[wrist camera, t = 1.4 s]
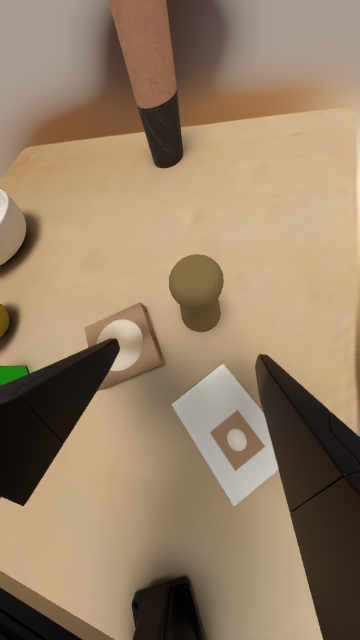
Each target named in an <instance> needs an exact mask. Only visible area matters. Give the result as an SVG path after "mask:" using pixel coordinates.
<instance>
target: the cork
mask: <svg viewBox="0 0 360 640" xmlns="http://www.w3.org/2000/svg"><path fill="white" fill-rule="evenodd" d="M223 283H224V280H223V273H222V270H221V268H220V267H219V265H218V264H217V263H216V262H215V261H214V260H213V259H211V258H209V257H207V256H205V255H198V254H196V255H190V256H187V257H185V258H183V259H181V260H180V261H179V262H177V264H176V265H175V266H174V268H173V269H172V271H171V274H170V276H169V289H170V291H171V294H172V296H173V298H174V299H175V300H176V301H177V302H178V303H179V304H180V308H181V315H182V319H183V322H184V324H185V325H186V326H187V327H188V328H190V329H191V330H193V331H197V332H205V331H208V330H210V329H212V328H213V327H214V326H216V324H217V323H218V321H219V318H220V307H219V301H218V297H219V295H220V294H221V291H222V287H223Z"/></svg>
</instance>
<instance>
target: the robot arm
mask: <svg viewBox="0 0 360 640" xmlns="http://www.w3.org/2000/svg"><path fill="white" fill-rule="evenodd" d="M119 351H120V346H119V343H118V340H117V339H116V338H110V339H107V340H105V341H103V342H101V343H98V344H96V345H94V346H92V347H89V348H87V349H85V350H83V351H80V352H78V353H76V354H74V355H71V356H69V357H67V358H65V359H62V360H60V361H58V362H56V363H53V364H52V365H49V366H47V367H44V368H42V369H40V370H37V371H35V372H33V373H30V374H28V375H25V376H23V377H20V378H18V379H15V380H13V381H10V382H8V383H5V384H3V385H0V498H1V497H3V498H6V499H8V500H10V501H12V502H15V503H17V504H19V505H22V506H24V505H25V504H26V502H27V501H28V499H29V498H30V496H31V495H32V493H33V492H34V490H35V488H36V487H37V485H38V484H39V482H40V480H41V479H42V477H43V476H44V474H45V473H46V471H47V469H48V468H49V466H50V465H51V463H52V461H53V460H54V458H55V457H56V455H57V454H58V452H59V450H60V449H61V447H62V446H63V443H64V442H65V441H66V439H67V438H68V436H69V434H70V433H71V431H72V430H73V428H74V426H75V425H76V423H77V422H78V420H79V419H80V417H81V415H82V414H83V412H84V411H85V409H86V407H87V406H88V404H89V403H90V401H91V400H92V398H93V396H94V395H95V393H96V392H97V390H98V388H99V387H100V385H101V384H102V382H103V381H104V379H105V377H106V376H107V374H108V373H109V371H110V369H111V367H112V365H113V363H114V361H115V359H116V357H117V355H118V353H119ZM255 369H256V376H257V384H258V391H259V396H260V400H261V404H262V408H263V412H264V416H265V419H266V423H267V427H268V431H269V435H270V438H271V442H272V446H273V450H274V454H275V458H276V461H277V465H278V469H279V473H280V477H281V480H282V484H283V488H284V492H285V496H286V500H287V503H288V507H289V511H290V515H291V519H292V523H293V527H294V530H295V534H296V538H297V542H298V546H299V550H300V553H301V557H302V561H303V565H304V569H305V573H306V576H307V580H308V584H309V588H310V592H311V595H312V599H313V603H314V607H315V611H316V615H317V618H318V622H319V626H320V630H321V633H322V636H323V640H360V437H359V436H358V435H357V434H356V433H355V432H353V431H352V430H351V429H350V428H349V427H348V426H347V425H345V424H344V423H343V422H342V421H341V420H340V419H339V418H337V417H336V416H335V415H334V414H333V413H332V412H330V411H329V410H328V409H327V408H326V407H325V406H324V405H323V404H322V403H321V402H319V401H318V400H317V399H316V398H315V397H314V396H313V395H312V394H310V393H309V392H308V391H307V390H306V389H305V388H304V387H303V386H301V385H300V384H299V383H298V382H297V381H296V380H295V379H294V378H293V377H291V376H290V375H289V374H288V373H287V372H286V371H285V370H284V369H282V368H281V367H280V366H279V365H278V364H277V363H276V362H275V361H273V360H272V359H271V358H270V357H269V356H268V355H263V354H259V355H258V358H257V361H256V365H255ZM184 586H186V587H187V588H185V587H184ZM132 610H133V616H134V622H135V628H136V629H135V632H134V636H133V640H206V639H205V635H204V632H203V628H202V624H201V620H200V617H199V613H198V609H197V605H196V601H195V598H194V594H193V590H192V586H191V583H190V580H189V579H188V578H187V577H183V578H180V579H177V580H174V581H171V582H168V583H165V584H162V585H159V586H156V587H152V588H149V589H146V590H143V591H140V592H137V593H135V595H134V598H133V601H132ZM0 640H114V639H113V638H111V637H109V636H108V635H106V634H104V633H103V632H101V631H99V630H98V629H96V628H94V627H93V626H91V625H89V624H88V623H86V622H84V621H83V620H81V619H80V618H78V617H76V616H75V615H73V614H71V613H70V612H68V611H66V610H65V609H63V608H61V607H60V606H58V605H56V604H55V603H53V602H51V601H50V600H48V599H46V598H45V597H43V596H41V595H40V594H38V593H36V592H35V591H33V590H31V589H30V588H28V587H26V586H25V585H23V584H21V583H20V582H18V581H16V580H15V579H13V578H11V577H10V576H8V575H6V574H5V573H3V572H1V571H0Z"/></svg>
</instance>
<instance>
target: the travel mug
mask: <svg viewBox="0 0 360 640" xmlns="http://www.w3.org/2000/svg"><path fill="white" fill-rule="evenodd" d="M109 3H110V7H111V10H112V15H113V18H114V22H115V25H116V29H117V33H118V36H119V40H120V44H121V48H122V51H123V55H124V59H125V62H126V66H127V69H128V73H129V77H130V81H131V84H132V88H133V92H134V95H135V99H136V103H137V106H138V110H139V113H140V116H141V119H142V123H143V126H144V130H145V133H146V137H147V140H148V143H149V147H150V150H151V153H152V157H153V160H154V163H155V165H156V166H157V167H160V168H168V167H171V166H173V165H175V164H177V163H178V162H179V161H180V160H181V158H182V156H183V148H182V137H181V127H180V117H179V108H178V98H177V87H176V79H175V71H174V63H173V54H172V46H171V38H170V31H169V22H168V14H167V5H166V0H109Z"/></svg>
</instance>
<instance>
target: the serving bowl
mask: <svg viewBox="0 0 360 640" xmlns="http://www.w3.org/2000/svg"><path fill="white" fill-rule="evenodd" d="M25 235H26V221H25V218H24V215H23V213H22V211H21V210H20V208H19V207H18V205H17V204H16V203H15V202H14V201H13V200H12V198H11V197H10V196H9V195H8V194H7V193H5V192H4V191H2V190H0V265H2V264H3V263H5V262H6V261H7V260H9V259H10V258H11V257H12V256H13V255H14V254H15V253H16V252H17V250H18V249H19V248H20V246H21V244H22V243H23V240H24V238H25Z"/></svg>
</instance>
